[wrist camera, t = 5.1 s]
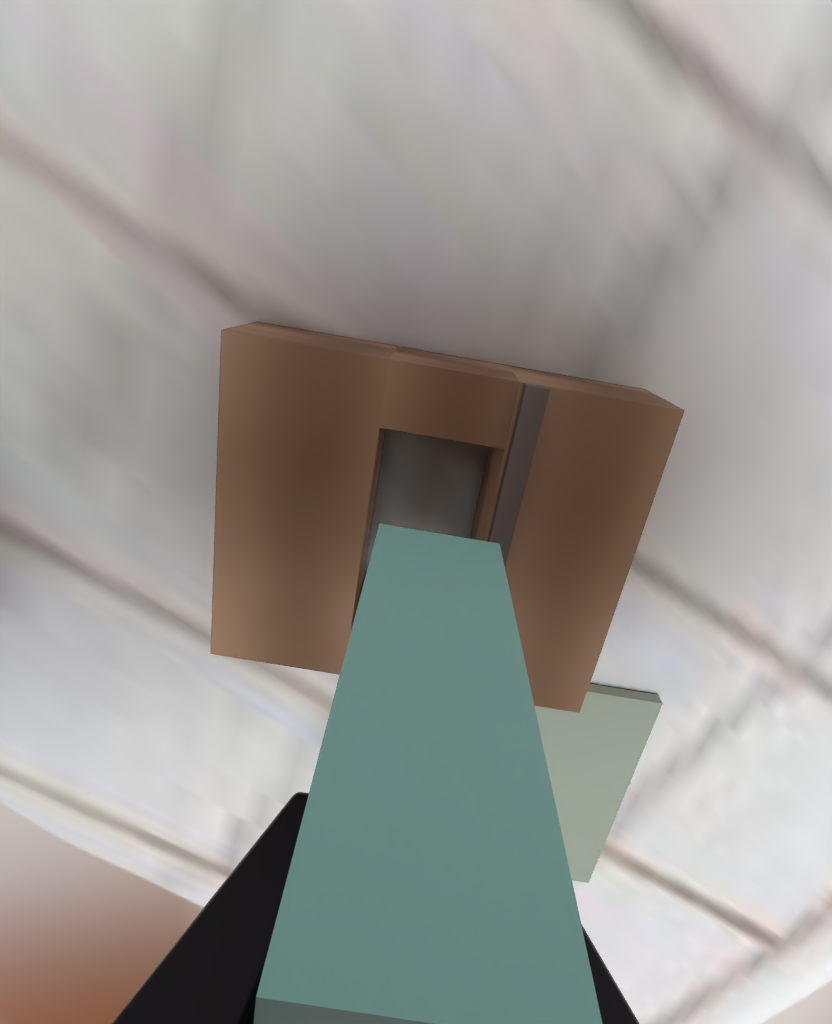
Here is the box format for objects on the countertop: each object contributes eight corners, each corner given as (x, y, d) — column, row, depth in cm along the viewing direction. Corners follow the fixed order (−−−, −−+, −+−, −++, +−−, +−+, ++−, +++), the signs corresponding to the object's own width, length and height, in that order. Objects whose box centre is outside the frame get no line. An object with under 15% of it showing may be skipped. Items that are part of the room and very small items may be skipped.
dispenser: (241, 604, 21) (205, 661, 18) (256, 321, 17) (215, 331, 14) (561, 656, 21) (582, 722, 18) (645, 389, 18) (690, 414, 14)
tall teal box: (349, 720, 13) (227, 1292, 6) (379, 523, 11) (255, 996, 4) (452, 737, 13) (463, 1326, 6) (499, 543, 11) (607, 1049, 4)
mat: (364, 837, 25) (363, 848, 25) (398, 652, 22) (397, 660, 21) (585, 871, 26) (588, 882, 25) (657, 694, 22) (662, 703, 21)
